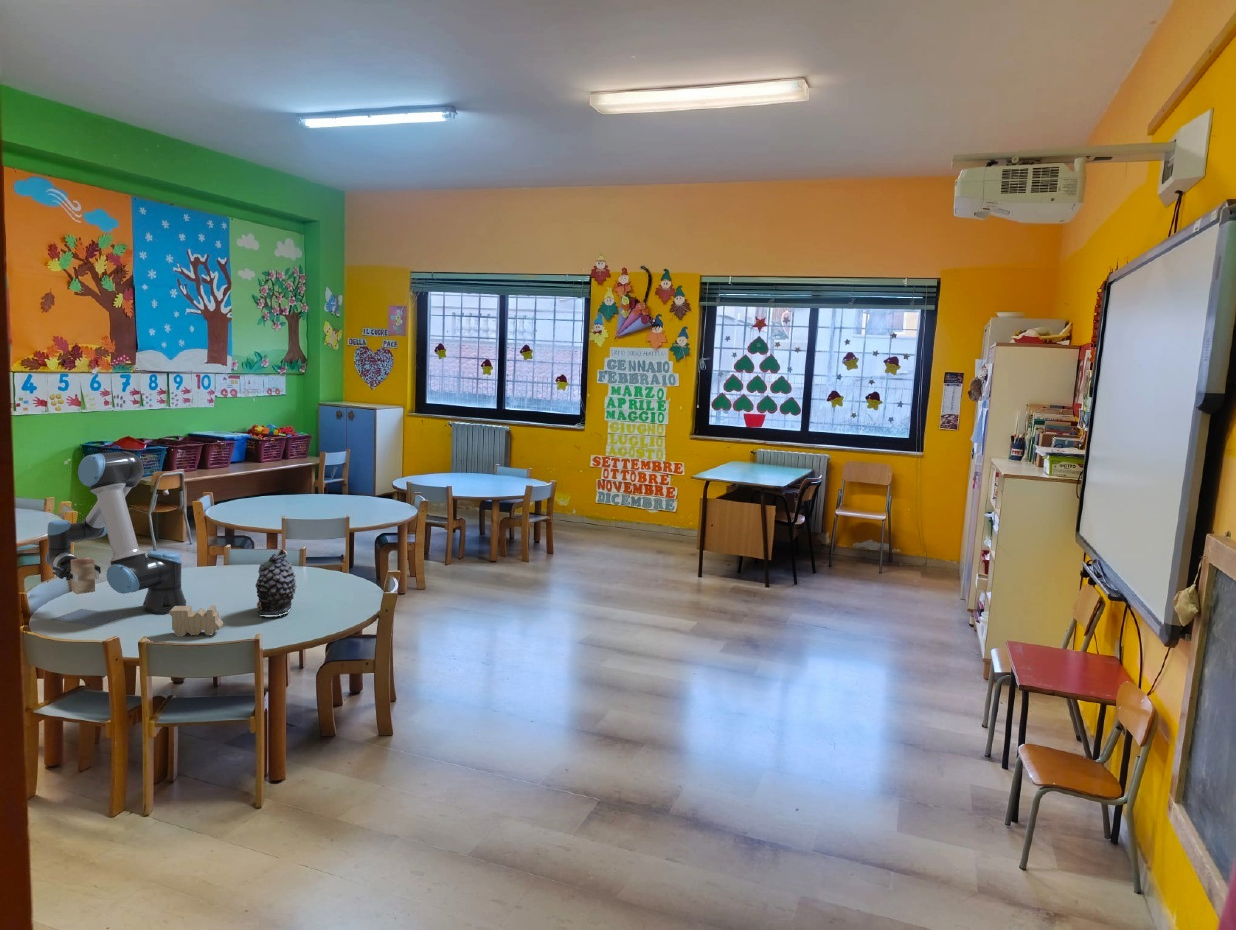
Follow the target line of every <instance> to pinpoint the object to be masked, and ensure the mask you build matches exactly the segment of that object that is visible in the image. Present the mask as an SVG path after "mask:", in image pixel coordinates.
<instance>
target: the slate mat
mask: <svg viewBox="0 0 1236 930" xmlns="http://www.w3.org/2000/svg"><path fill="white" fill-rule="evenodd" d="M125 616H127V615H126V614H123V613H122V614H120V613H113V612H106V611H101V610H92V609H87V608H80V609H77V610H74V611H71V612H68V613H65V614H63V615H59V616H57V617H54V618H51V619H50V621H57V622H63V623H64V622H65V623H70V624H76V625H83V626H89V627H90V626H91V627H99V626H101V625H104V624H107V623H110V622H112V621H114V620H118V619H120V618H123V617H125Z"/></svg>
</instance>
